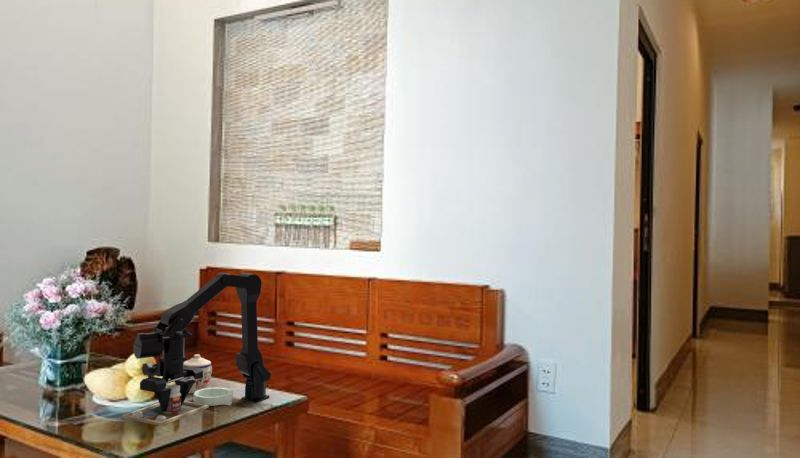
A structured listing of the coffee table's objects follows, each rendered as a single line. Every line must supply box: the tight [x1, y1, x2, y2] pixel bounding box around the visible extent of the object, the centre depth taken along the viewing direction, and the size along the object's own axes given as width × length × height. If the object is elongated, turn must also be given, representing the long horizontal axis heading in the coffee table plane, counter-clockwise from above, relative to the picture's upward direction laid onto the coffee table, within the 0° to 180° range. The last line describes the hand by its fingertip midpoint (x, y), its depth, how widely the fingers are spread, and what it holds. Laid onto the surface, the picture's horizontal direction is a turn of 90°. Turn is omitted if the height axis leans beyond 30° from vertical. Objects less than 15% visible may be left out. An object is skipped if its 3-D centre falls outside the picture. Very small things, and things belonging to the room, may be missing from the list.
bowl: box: [192, 387, 234, 407], centre depth 180 cm, size 11×11×4 cm
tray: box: [121, 400, 209, 427], centre depth 167 cm, size 18×14×2 cm
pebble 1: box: [132, 410, 144, 418], centre depth 163 cm, size 3×3×3 cm
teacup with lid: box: [184, 353, 213, 394], centre depth 197 cm, size 12×9×12 cm
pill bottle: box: [163, 384, 182, 414], centre depth 169 cm, size 5×5×8 cm
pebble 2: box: [154, 415, 167, 422], centre depth 160 cm, size 3×3×3 cm
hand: (172, 408), depth 169 cm, fingers open, 6 cm apart
